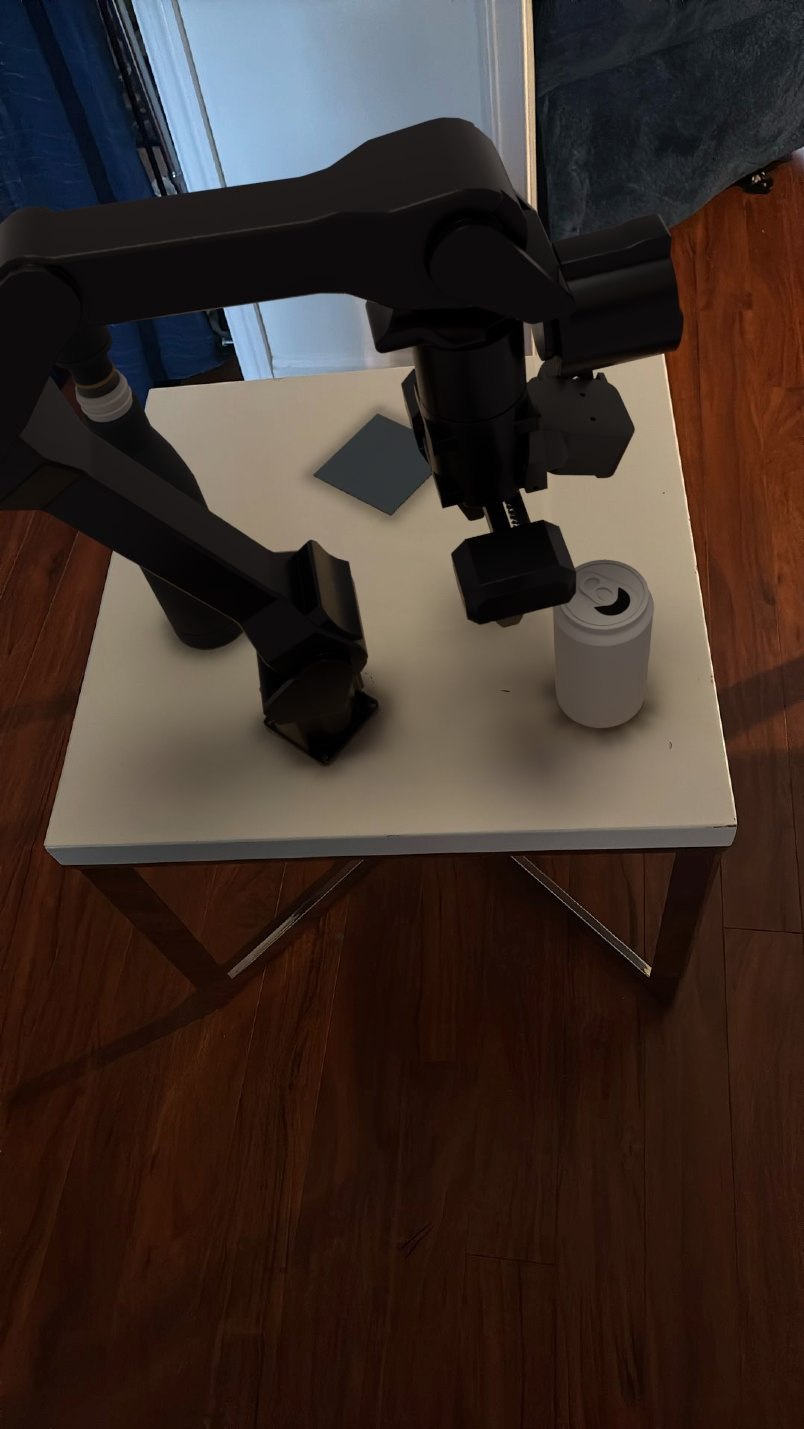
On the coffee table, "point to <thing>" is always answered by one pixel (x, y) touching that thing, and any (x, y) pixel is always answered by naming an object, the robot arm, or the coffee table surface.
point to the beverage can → (603, 644)
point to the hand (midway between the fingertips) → (492, 569)
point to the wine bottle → (130, 432)
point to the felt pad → (378, 465)
